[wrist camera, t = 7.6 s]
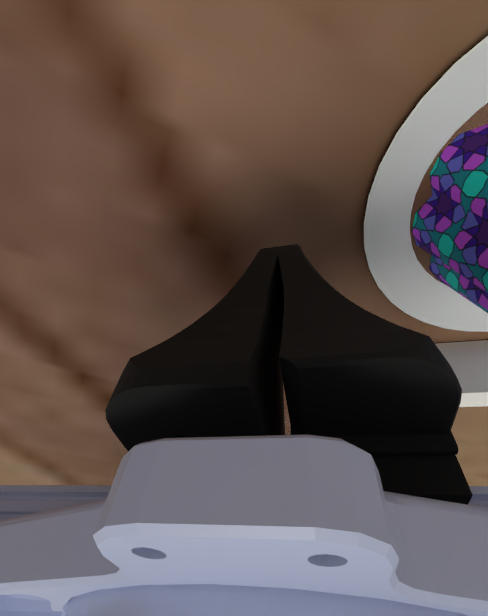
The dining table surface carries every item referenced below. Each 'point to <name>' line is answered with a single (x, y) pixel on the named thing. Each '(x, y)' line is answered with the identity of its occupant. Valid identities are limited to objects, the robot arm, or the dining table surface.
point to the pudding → (436, 205)
